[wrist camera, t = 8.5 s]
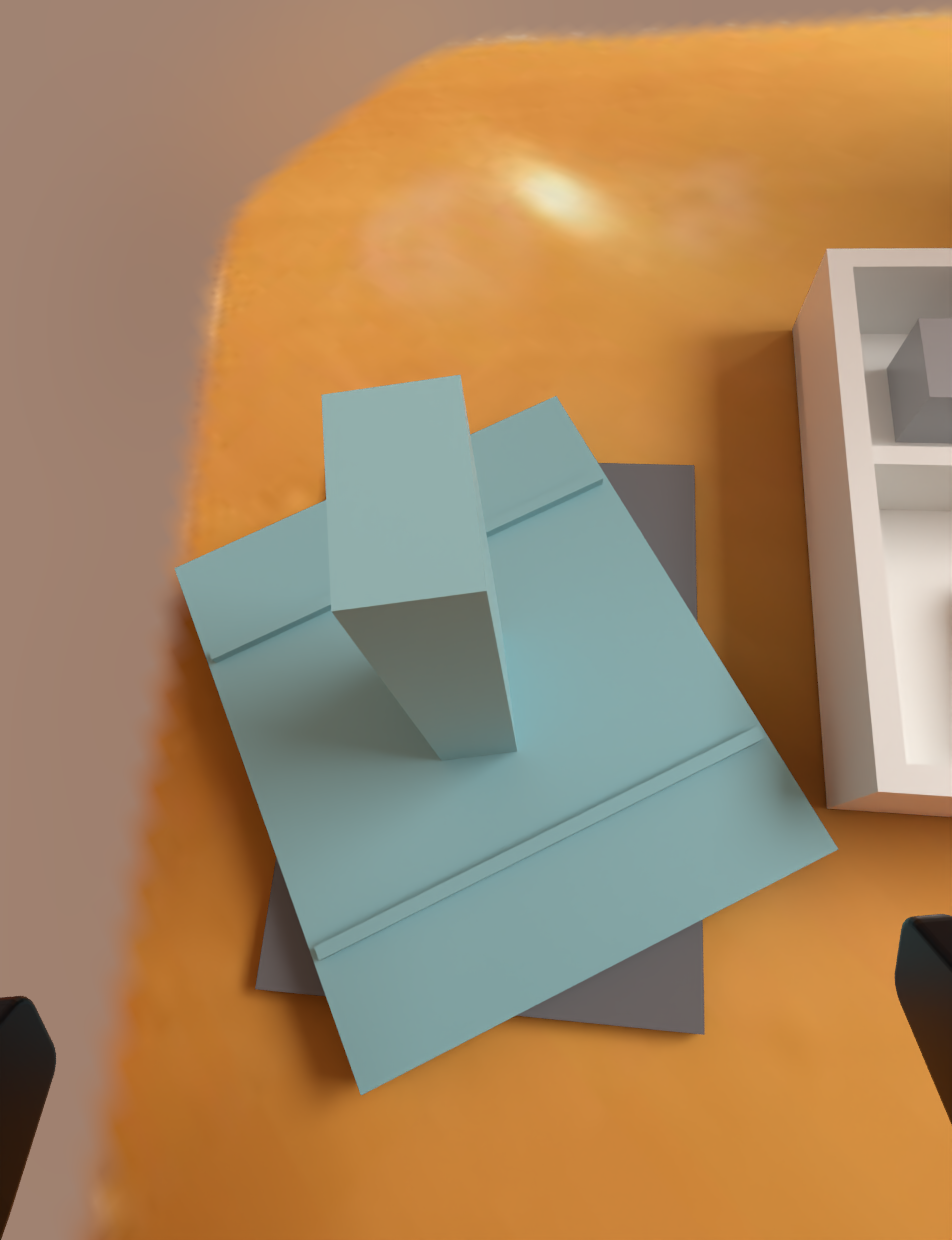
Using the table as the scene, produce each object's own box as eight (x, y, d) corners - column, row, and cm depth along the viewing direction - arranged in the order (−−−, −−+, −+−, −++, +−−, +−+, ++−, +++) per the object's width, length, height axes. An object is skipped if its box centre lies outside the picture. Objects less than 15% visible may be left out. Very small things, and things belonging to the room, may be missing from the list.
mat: (701, 1031, 17) (704, 1034, 16) (260, 987, 18) (255, 989, 18) (691, 472, 22) (694, 465, 21) (343, 464, 23) (340, 456, 22)
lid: (826, 851, 18) (1205, 782, 7) (369, 1086, 17) (97, 1370, 7) (555, 412, 22) (563, 3, 12) (187, 579, 21) (-136, 290, 11)
